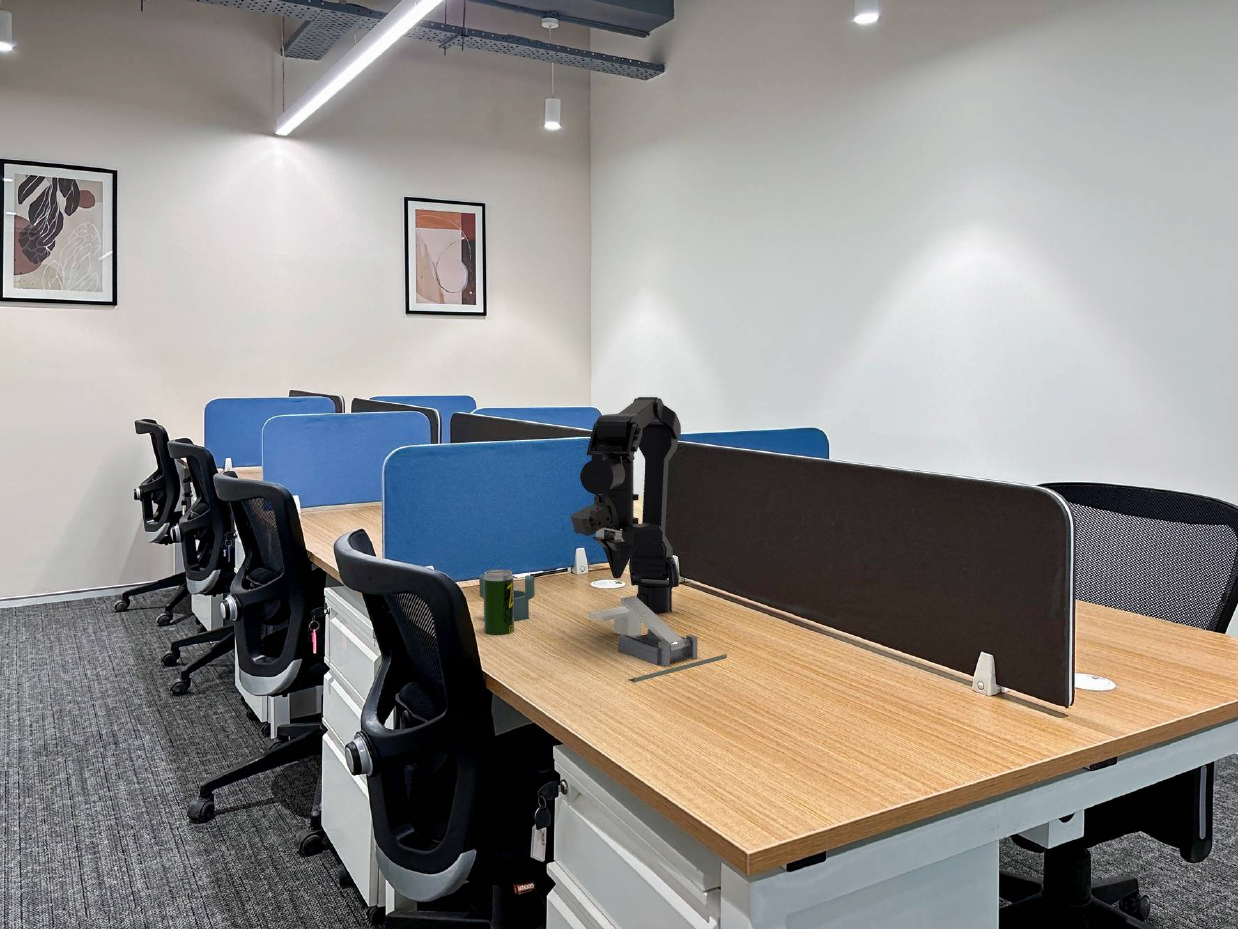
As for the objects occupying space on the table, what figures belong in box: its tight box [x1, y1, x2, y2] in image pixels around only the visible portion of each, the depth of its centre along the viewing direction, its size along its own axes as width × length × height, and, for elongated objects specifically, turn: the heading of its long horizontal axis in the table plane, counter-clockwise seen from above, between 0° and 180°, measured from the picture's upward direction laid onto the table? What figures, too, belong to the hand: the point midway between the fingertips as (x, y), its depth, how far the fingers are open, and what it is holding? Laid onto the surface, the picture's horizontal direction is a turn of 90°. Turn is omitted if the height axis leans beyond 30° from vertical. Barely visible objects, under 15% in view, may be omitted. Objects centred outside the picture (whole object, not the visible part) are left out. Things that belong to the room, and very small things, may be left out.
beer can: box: [483, 569, 515, 636], centre depth 168 cm, size 5×5×12 cm
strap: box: [619, 595, 690, 652], centre depth 155 cm, size 4×15×1 cm, turn 38°
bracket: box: [478, 573, 535, 623], centre depth 181 cm, size 9×9×9 cm
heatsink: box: [617, 628, 698, 668], centre depth 154 cm, size 8×11×4 cm
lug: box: [588, 605, 642, 637], centre depth 165 cm, size 8×4×4 cm, turn 128°
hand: (617, 578), depth 161 cm, fingers closed
